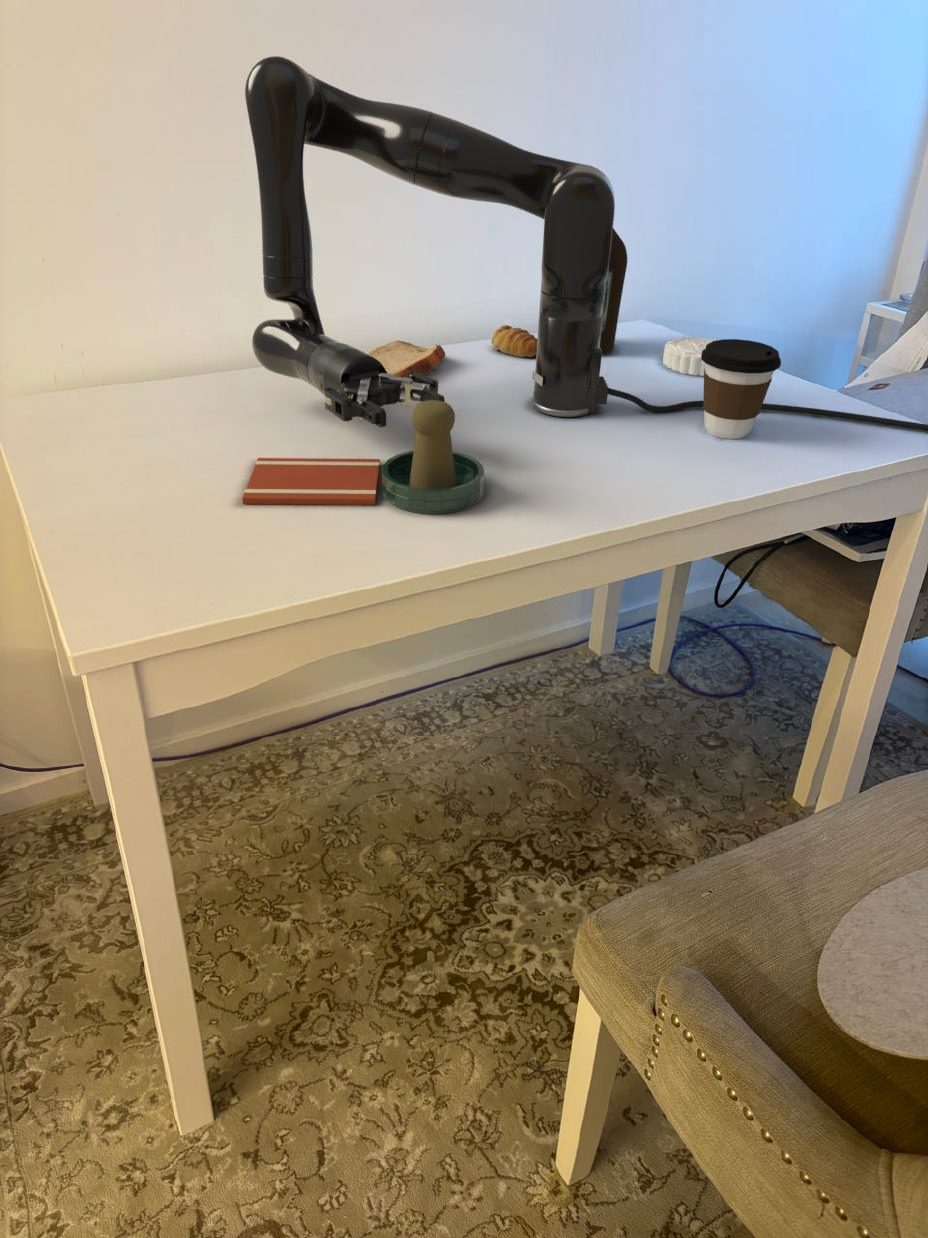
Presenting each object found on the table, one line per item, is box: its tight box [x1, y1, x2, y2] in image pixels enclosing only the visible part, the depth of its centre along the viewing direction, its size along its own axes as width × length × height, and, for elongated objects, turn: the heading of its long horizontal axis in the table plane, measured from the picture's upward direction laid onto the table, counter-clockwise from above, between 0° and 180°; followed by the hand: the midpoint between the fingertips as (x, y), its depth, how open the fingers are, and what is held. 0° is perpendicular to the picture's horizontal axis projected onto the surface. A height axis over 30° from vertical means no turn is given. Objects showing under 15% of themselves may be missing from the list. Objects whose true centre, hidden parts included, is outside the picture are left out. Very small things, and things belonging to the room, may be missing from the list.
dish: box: [381, 449, 485, 515], centre depth 113 cm, size 13×13×3 cm
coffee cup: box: [701, 338, 782, 440], centre depth 130 cm, size 11×11×12 cm
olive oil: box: [600, 227, 628, 356], centre depth 158 cm, size 11×11×25 cm
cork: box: [409, 400, 457, 489], centre depth 111 cm, size 6×6×11 cm
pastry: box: [491, 324, 538, 358], centre depth 161 cm, size 9×7×4 cm
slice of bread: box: [367, 340, 446, 390], centre depth 150 cm, size 18×18×4 cm
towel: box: [241, 457, 381, 506], centre depth 115 cm, size 16×12×1 cm
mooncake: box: [662, 336, 718, 377], centre depth 157 cm, size 12×12×4 cm
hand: (413, 412), depth 112 cm, fingers open, 8 cm apart
